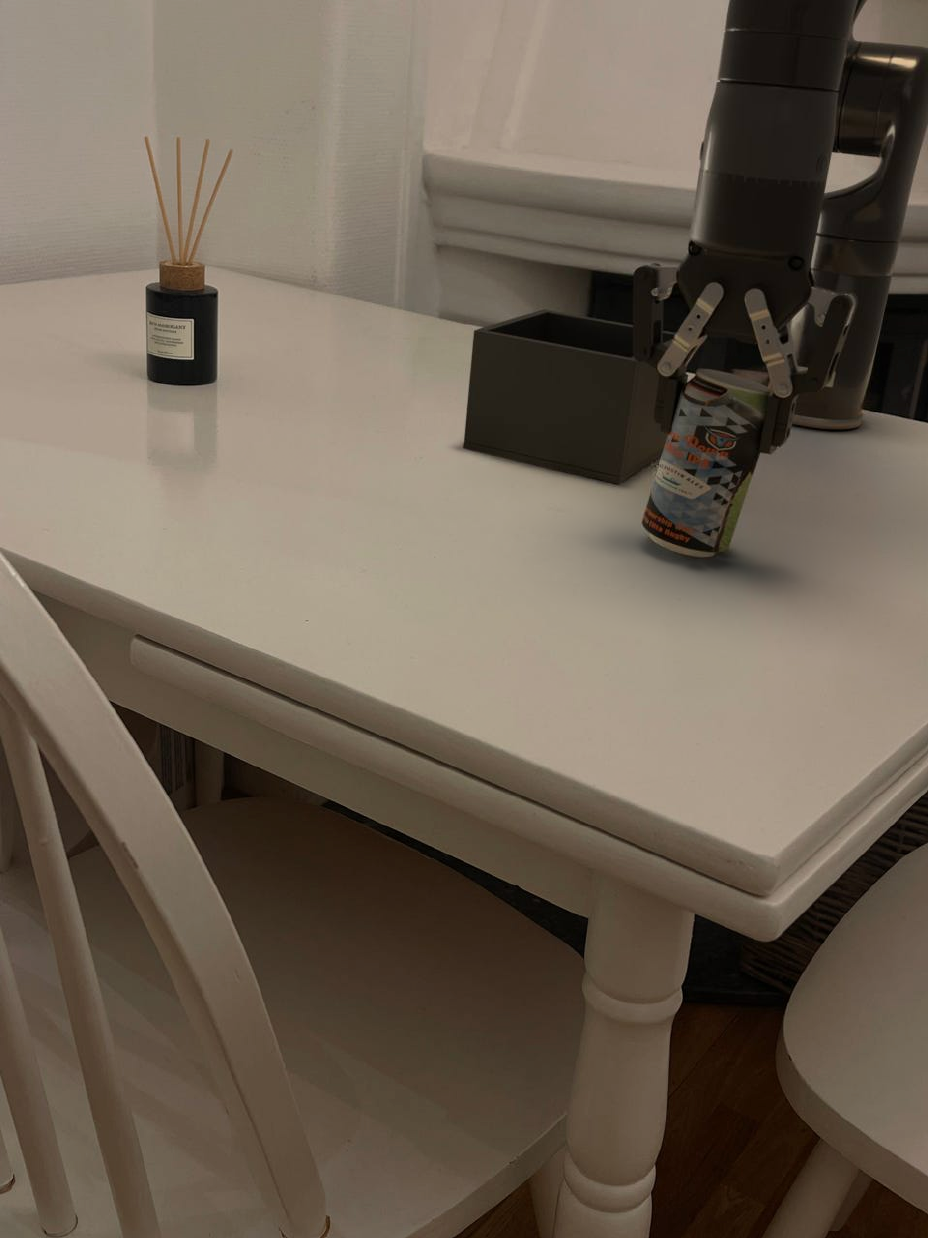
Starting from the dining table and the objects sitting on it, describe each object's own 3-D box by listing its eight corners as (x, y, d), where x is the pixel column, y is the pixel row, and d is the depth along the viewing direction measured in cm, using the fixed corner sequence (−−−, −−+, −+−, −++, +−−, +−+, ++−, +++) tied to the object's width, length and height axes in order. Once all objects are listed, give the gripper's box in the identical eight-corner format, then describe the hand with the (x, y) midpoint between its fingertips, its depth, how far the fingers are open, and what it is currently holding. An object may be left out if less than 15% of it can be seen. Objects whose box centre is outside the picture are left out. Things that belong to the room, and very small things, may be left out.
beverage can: (622, 536, 86) (646, 362, 81) (711, 529, 89) (740, 361, 84) (671, 570, 81) (700, 387, 76) (764, 561, 84) (798, 384, 79)
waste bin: (531, 416, 114) (543, 308, 110) (674, 446, 108) (692, 335, 105) (462, 448, 102) (473, 329, 99) (618, 484, 97) (636, 360, 93)
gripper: (897, 180, 75) (840, 451, 82) (669, 154, 81) (633, 410, 88) (874, 185, 69) (814, 477, 76) (628, 156, 75) (593, 431, 82)
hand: (717, 440), depth 82 cm, fingers closed on beverage can, 6 cm apart
